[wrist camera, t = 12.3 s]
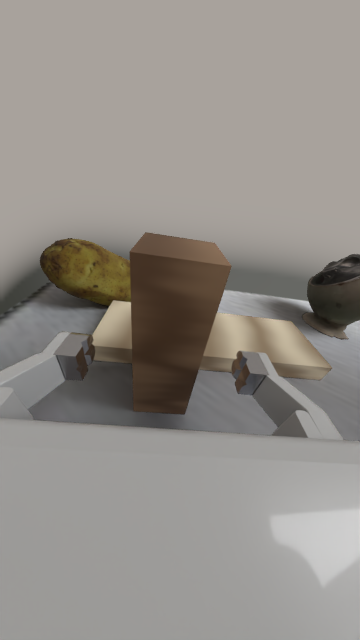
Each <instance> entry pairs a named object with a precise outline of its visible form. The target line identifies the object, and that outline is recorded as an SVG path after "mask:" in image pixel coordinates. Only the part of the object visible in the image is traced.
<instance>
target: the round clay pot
mask: <svg viewBox="0 0 360 640" xmlns="http://www.w3.org/2000/svg"><path fill="white" fill-rule="evenodd" d="M307 297H308V300H309V303H310V306H311V308H312V310H313V312H314V313H311V312H307V313H305V314H303V316H302V317H303V320H304V321H305V322H306V323H307V324H308V325H310V326H312V327H313V328H315V329H317V330H318V331H320V332H322V333H324V334H326V335H329V336H331V337H333V336H335V337H336V338H339V339H348V338H347V336H346V335H345V333H344V332H343V331H344V330H345V329H346V326H347V325H349V324H351V323H353V322H355V321H359V320H360V255H359V254H352V255H349V256H348V257H346V258H344V259H341V260H339V261H338V262H331V263H329V264H328V265H327V266H326V267H325V268H324V269H323V271H321V272H320V273H318V274H316V275H315V276H314V277H312V278H311V279H310V280H309V282H308V288H307Z"/></svg>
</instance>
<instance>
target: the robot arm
mask: <svg viewBox="0 0 360 640" xmlns="http://www.w3.org/2000/svg"><path fill="white" fill-rule="evenodd" d="M93 341H94V340H93V336H92V335H88V334H80V333H73V332H72V333H71V332H64V331H62V332H59V333H58V334H57V335H56V337H55V338H54V339H53V340H52V341H51V342H50V343H49V345H48V346H47V347H46V348H45V349H44V350H43V351H42V353H41V354H38V353H37V354H35V355H33V356H31V357H29V358H27V359H25V360H22V361H20V362H18V363H16V364H14V365H12V366H10V367H8V368H6V369H4V370H2V371H0V640H360V441H349V440H344V439H343V438H342V436H341V435H340V433H339V432H338V430H337V429H336V427H335V426H334V424H333V423H332V421H331V420H330V418H329V417H328V415H327V414H326V412H325V411H324V410H322V409H321V408H320V407H319V406H317V405H316V404H315V403H314V402H312V401H311V400H310V399H309V398H307V397H306V396H305V395H304V394H302V393H301V392H300V391H299V390H297V389H296V388H295V387H294V386H292V385H291V384H290V383H289V382H287V381H286V380H285V379H284V378H282V377H280V376H278V374H277V372H276V370H275V368H274V367H273V365H272V363H271V361H270V359H269V357H268V356H267V354H266V353H260V352H249V351H238V352H237V354H236V356H237V359H235V360H234V361H233V363H232V368H231V370H232V375H233V377H234V378H235V379H236V382H235V386H236V389H237V392H238V394H244V395H253V398H254V399H255V400H256V401H257V402H258V404H259V405H260V406H261V407H262V408H263V410H264V411H265V412H266V413H267V414H268V416H269V417H270V418H271V419H272V420H273V422H274V423H275V424H276V425H277V426H278V428H277V429H276V430H275V431H274V432H273V434H272V436H271V435H256V434H240V433H225V432H210V431H195V430H179V429H164V428H148V427H133V426H117V425H102V424H86V423H71V422H55V421H40V420H34V419H33V416H32V415H31V413H30V412H29V411H28V409H29V408H30V407H32V406H33V405H34V404H36V403H37V402H38V401H40V400H41V399H42V398H43V397H45V396H46V395H47V394H49V393H50V392H51V391H52V390H54V389H55V388H56V387H58V386H59V385H60V384H61V383H63V382H64V381H65V380H80V381H83V379H84V377H85V375H86V373H87V371H88V367H87V366H88V365H90V364H91V363H92V362H93V360H94V356H95V346H94V345H93V344H92V342H93Z"/></svg>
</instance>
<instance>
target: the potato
mask: <svg viewBox="0 0 360 640" xmlns="http://www.w3.org/2000/svg"><path fill="white" fill-rule="evenodd" d="M40 265H41V268H42V270H43V271H44V273H45V274H46V276H47V277H48V278H49V280H50V281H51V282H52V283H54V284H55V285H56V287H58V288H60V289H62V290H64V291H66V292H67V293H69V294H71V295H73V296H76V297H79V298H82V299H88V300H91V301H93V302H96V303H98V304H102V305H107V306H110V305H111V303H112V302H113V300H115V301H123V302H131V286H130V261H129V260H127V259H124V258H122V257H120V256H118V255H116V254H114V253H111V252H109V251H107V250H106V249H104V248H102V247H101V246H99V245H97V244H95V243H92V242H89V241H85V240H79V239H72V238H70V239H69V238H68V239H64V240H60V241H56V242H55V243H54V244H52V245H51V246H49V247H48V248H46V249H45V251H43V253H42V255H41V257H40Z"/></svg>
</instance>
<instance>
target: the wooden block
mask: <svg viewBox="0 0 360 640" xmlns="http://www.w3.org/2000/svg"><path fill="white" fill-rule="evenodd" d="M230 269H231V265H230V264H229V262H228V261H227V259H226V258H225V257H224V255H223V254H222V252H221V251H220V250H219V248H218V247H217V245H216V244H215V243H211V242H205V241H198V240H192V239H185V238H179V237H172V236H166V235H160V234H153V233H145V234H144V235H143V236H142V237H141V239H140V240H139V241H138V242H137V244H136V245H135V246H134V247H133V248H132V249H131V251H130V286H131V329H132V372H133V411H139V412H155V413H171V414H185V411H186V408H187V405H188V402H189V399H190V396H191V392H192V389H193V386H194V383H195V380H196V377H197V373H198V370H199V367H200V364H201V361H202V358H203V355H204V351H205V348H206V345H207V342H208V339H209V336H210V333H211V329H212V326H213V323H214V320H215V317H216V314H217V311H218V307H219V304H220V301H221V298H222V295H223V292H224V288H225V285H226V282H227V279H228V276H229V273H230Z"/></svg>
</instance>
